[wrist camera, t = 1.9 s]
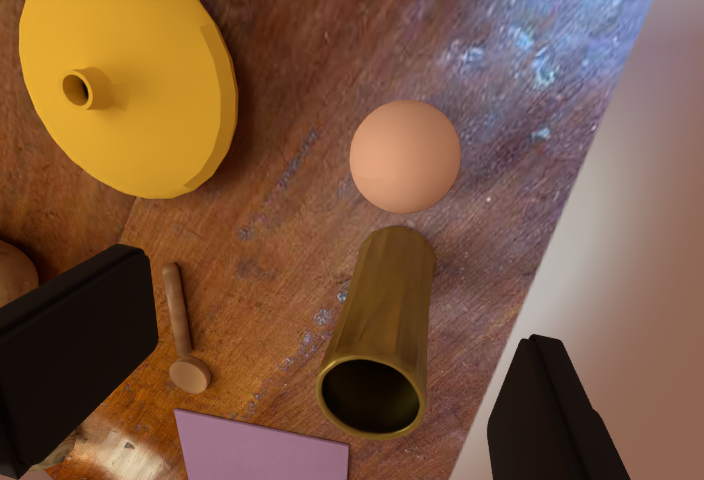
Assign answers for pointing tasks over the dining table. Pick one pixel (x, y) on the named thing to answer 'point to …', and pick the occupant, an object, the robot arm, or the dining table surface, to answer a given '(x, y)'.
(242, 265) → the dining table surface
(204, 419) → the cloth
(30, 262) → the potato
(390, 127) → the egg
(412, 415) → the vase
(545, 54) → the dining table surface
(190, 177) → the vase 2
